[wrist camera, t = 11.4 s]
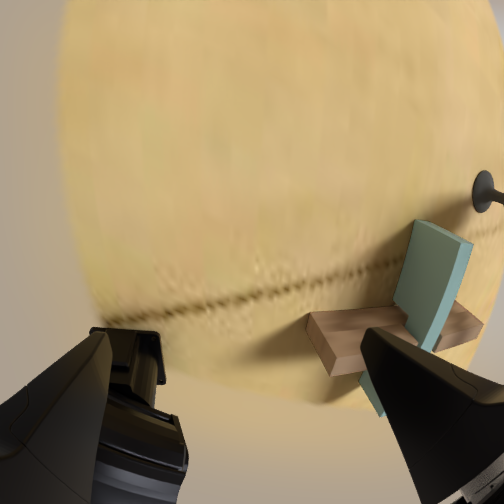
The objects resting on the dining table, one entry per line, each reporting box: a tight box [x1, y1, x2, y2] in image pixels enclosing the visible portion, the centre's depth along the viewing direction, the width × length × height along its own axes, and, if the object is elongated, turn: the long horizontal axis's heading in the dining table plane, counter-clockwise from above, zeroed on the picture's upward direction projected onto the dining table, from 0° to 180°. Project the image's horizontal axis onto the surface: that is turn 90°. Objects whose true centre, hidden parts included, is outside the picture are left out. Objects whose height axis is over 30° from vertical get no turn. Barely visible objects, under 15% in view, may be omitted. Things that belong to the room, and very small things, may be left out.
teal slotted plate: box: [359, 220, 474, 417], centre depth 23 cm, size 20×2×6 cm, turn 175°
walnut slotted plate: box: [306, 300, 484, 377], centre depth 23 cm, size 20×2×6 cm, turn 85°
